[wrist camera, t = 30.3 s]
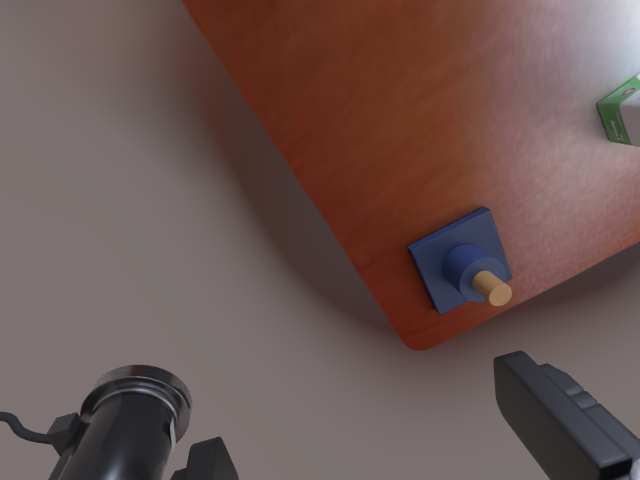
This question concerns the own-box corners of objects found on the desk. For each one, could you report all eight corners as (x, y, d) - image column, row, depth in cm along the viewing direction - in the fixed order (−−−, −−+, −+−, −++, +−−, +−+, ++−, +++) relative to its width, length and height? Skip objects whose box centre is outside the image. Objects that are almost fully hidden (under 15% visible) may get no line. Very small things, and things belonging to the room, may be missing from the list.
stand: (435, 310, 44) (470, 353, 37) (406, 246, 41) (439, 280, 34) (506, 273, 44) (556, 310, 37) (483, 206, 41) (534, 231, 33)
